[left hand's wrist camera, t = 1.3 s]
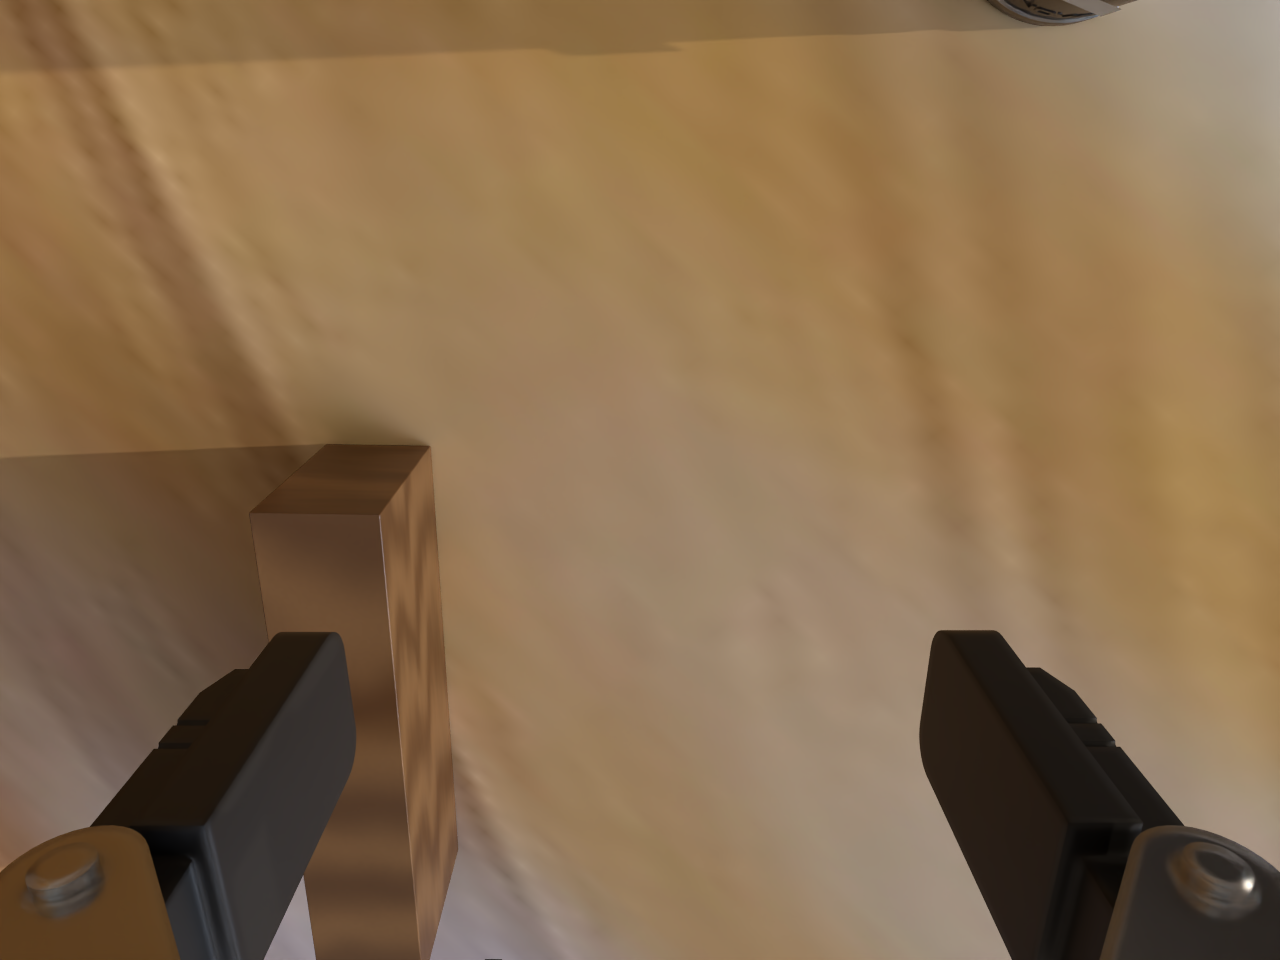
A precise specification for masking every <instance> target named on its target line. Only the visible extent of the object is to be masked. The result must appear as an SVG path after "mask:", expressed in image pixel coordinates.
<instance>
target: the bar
mask: <svg viewBox="0 0 1280 960" xmlns="http://www.w3.org/2000/svg"><path fill="white" fill-rule="evenodd" d="M249 515H250V522H251V528H252V535H253V542H254V548H255V555H256V562H257V568H258V575H259V582H260V588H261V595H262V602H263V608H264V615H265V622H266V628H267V635H268V642H270V641H271V639H272V638H273V637H274V636H275V635H276V634H277V633H279V632H337V633H338V634H339V635H340V636H341V638H342V641H343V644H344V649H345V656H346V662H347V669H348V676H349V683H350V690H351V697H352V704H353V711H354V717H355V724H356V751H355V757H354V763H353V767H352V770H351V773H350V776H349V778H348V780H347V783H346V785H345V787H344V789H343V791H342V793H341V795H340V797H339V800H338V802H337V804H336V806H335V808H334V810H333V812H332V814H331V817H330V819H329V821H328V823H327V825H326V827H325V829H324V832H323V834H322V836H321V838H320V840H319V842H318V844H317V846H316V849H315V851H314V853H313V855H312V857H311V859H310V861H309V864H308V866H307V868H306V870H305V872H304V874H303V875H304V882H305V888H306V895H307V902H308V908H309V915H310V922H311V928H312V935H313V942H314V948H315V955H316V960H430V956H431V952H432V948H433V944H434V940H435V937H436V933H437V929H438V925H439V921H440V917H441V913H442V910H443V906H444V902H445V898H446V894H447V890H448V886H449V883H450V879H451V875H452V871H453V867H454V863H455V859H456V856H457V852H458V841H457V826H456V811H455V797H454V782H453V767H452V753H451V738H450V724H449V709H448V694H447V680H446V665H445V650H444V636H443V621H442V607H441V592H440V577H439V563H438V548H437V534H436V519H435V504H434V490H433V475H432V460H431V447H430V446H393V445H334V444H326V445H325V446H324V447H323V448H322V449H321V450H319V451H318V452H317V453H316V454H315V455H314V456H313V457H312V458H310V459H309V460H308V461H307V462H306V463H305V464H304V465H303V466H301V467H300V468H299V469H298V470H297V471H296V472H295V473H294V474H292V475H291V476H290V477H289V478H288V479H287V480H286V481H285V482H283V483H282V484H281V485H280V486H279V487H278V488H277V489H275V490H274V491H273V492H272V493H271V494H270V495H269V496H268V497H266V498H265V499H264V500H263V501H262V502H261V503H260V504H259V505H257V506H256V507H255V508H254V509H253V510H252V511H251V512H250V513H249Z"/></svg>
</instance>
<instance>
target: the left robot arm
mask: <svg viewBox="0 0 1280 960" xmlns="http://www.w3.org/2000/svg"><path fill="white" fill-rule="evenodd" d="M987 1H988V2H989V3H990V4H991V5H993V6H994V7H995V8H997V9H998V10H999V11H1001V12H1002V13H1004V14H1006V15H1008V16H1010V17H1012V18H1014V19H1017V20H1019V21H1022V22H1025V23H1029V24H1034V25H1040V26H1062V25H1069V24H1074V23H1078V22H1082V21H1085V20H1088V19H1091V18H1094V17H1097V16H1104V15H1107V14H1110V13H1113V12H1116V11H1119V10H1122V9H1120V8H1117V7H1119V6H1121V5H1124V4H1127V3H1131V2H1134V1H1137V0H987ZM919 739H920V751H921V757H922V762H923V766H924V769H925V772H926V775H927V777H928V779H929V782H930V784H931V786H932V788H933V790H934V792H935V795H936V797H937V799H938V801H939V803H940V805H941V807H942V810H943V812H944V814H945V816H946V818H947V820H948V823H949V825H950V827H951V829H952V831H953V833H954V836H955V838H956V840H957V842H958V844H959V846H960V848H961V851H962V853H963V855H964V857H965V859H966V861H967V864H968V866H969V868H970V870H971V872H972V874H973V877H974V879H975V881H976V883H977V885H978V887H979V889H980V892H981V894H982V896H983V898H984V900H985V902H986V905H987V907H988V909H989V911H990V913H991V915H992V918H993V920H994V922H995V924H996V926H997V928H998V930H999V933H1000V935H1001V937H1002V939H1003V941H1004V943H1005V946H1006V948H1007V950H1008V952H1009V954H1010V956H1011V959H1012V960H1280V872H1279V871H1278V870H1277V869H1275V868H1274V867H1273V866H1272V865H1271V864H1269V863H1268V862H1267V861H1266V860H1264V859H1263V858H1262V857H1260V856H1259V855H1257V854H1255V853H1254V852H1252V851H1251V850H1249V849H1247V848H1246V847H1244V846H1242V845H1240V844H1238V843H1236V842H1234V841H1232V840H1230V839H1227V838H1225V837H1223V836H1220V835H1217V834H1214V833H1211V832H1208V831H1205V830H1201V829H1197V828H1193V827H1186V826H1184V825H1183V824H1182V822H1181V821H1180V820H1179V819H1178V817H1177V816H1176V815H1175V814H1174V812H1173V811H1172V810H1171V809H1170V808H1169V806H1168V805H1167V804H1166V803H1165V801H1164V800H1163V799H1162V798H1161V796H1160V795H1159V794H1158V793H1157V792H1156V790H1155V789H1154V788H1153V787H1152V785H1151V784H1150V783H1149V782H1148V781H1147V779H1146V778H1145V777H1144V776H1143V774H1142V773H1141V772H1140V771H1139V769H1138V768H1137V767H1136V766H1135V765H1134V763H1133V762H1132V761H1131V760H1130V758H1129V757H1128V756H1127V755H1126V753H1125V752H1124V751H1123V750H1122V749H1121V747H1116V745H1115V740H1114V739H1113V738H1112V736H1111V735H1110V734H1109V733H1108V731H1107V730H1106V729H1105V728H1104V726H1103V725H1102V724H1098V723H1097V718H1096V717H1095V715H1094V714H1093V713H1092V712H1091V710H1090V709H1089V708H1088V707H1087V706H1086V704H1085V703H1084V702H1083V701H1082V699H1081V698H1080V697H1079V696H1078V694H1077V693H1076V692H1075V691H1074V690H1072V689H1071V688H1070V687H1068V686H1067V685H1065V684H1064V683H1062V682H1061V681H1059V680H1058V679H1056V678H1055V677H1053V676H1052V675H1050V674H1049V673H1047V672H1046V671H1044V670H1043V669H1041V668H1026V667H1025V666H1024V664H1023V663H1022V662H1021V660H1020V659H1019V658H1018V656H1017V655H1016V654H1015V652H1014V651H1013V650H1012V648H1011V647H1010V646H1009V644H1008V643H1007V642H1006V640H1005V639H1004V638H1003V636H1002V635H1001V634H1000V633H999V632H997V631H994V630H941V631H938V632H937V633H936V634H935V636H934V638H933V641H932V645H931V651H930V658H929V665H928V672H927V679H926V686H925V693H924V700H923V707H922V714H921V721H920V732H919ZM355 751H356V724H355V717H354V711H353V704H352V697H351V690H350V683H349V676H348V669H347V662H346V656H345V649H344V644H343V641H342V638H341V636H340V635H339V634H338V633H337V632H279V633H277V634H276V635H275V636H274V637H273V638H272V639H271V641H270V642H269V643H268V645H267V646H266V647H265V649H264V650H263V651H262V652H261V654H260V655H259V656H258V658H257V659H256V660H255V662H254V663H253V664H252V666H251V667H250V668H249V669H235V670H233V671H232V672H230V673H229V674H227V675H226V676H224V677H223V678H221V679H220V680H218V681H217V682H215V683H214V684H212V685H211V686H209V687H208V688H206V689H205V690H203V691H202V692H200V693H199V695H198V696H197V697H196V698H195V699H194V701H193V702H192V703H191V704H190V705H189V707H188V708H187V709H186V710H185V712H184V713H183V714H182V715H181V716H180V718H179V719H178V723H177V726H172V727H171V729H170V730H169V731H168V732H167V733H166V735H165V736H164V737H163V738H162V740H161V741H160V742H159V747H158V749H153V751H152V752H151V753H150V754H149V755H148V757H147V758H146V759H145V760H144V762H143V763H142V764H141V765H140V766H139V768H138V769H137V770H136V771H135V772H134V774H133V775H132V776H131V777H130V779H129V780H128V781H127V782H126V783H125V785H124V786H123V787H122V788H121V790H120V791H119V792H118V793H117V794H116V796H115V797H114V798H113V799H112V800H111V802H110V803H109V804H108V805H107V807H106V808H105V809H104V810H103V811H102V813H101V814H100V815H99V816H98V818H97V819H96V820H95V821H94V822H93V824H92V825H91V826H90V827H87V828H83V829H79V830H75V831H72V832H69V833H66V834H63V835H60V836H57V837H55V838H53V839H50V840H48V841H46V842H44V843H42V844H40V845H38V846H36V847H34V848H33V849H31V850H29V851H28V852H26V853H25V854H23V855H21V856H20V857H18V858H17V859H16V860H14V861H13V862H12V863H11V864H9V865H8V866H7V867H6V868H5V869H3V870H2V871H1V872H0V960H263V959H264V957H265V955H266V953H267V951H268V949H269V947H270V945H271V942H272V940H273V938H274V936H275V934H276V932H277V930H278V927H279V925H280V923H281V921H282V919H283V917H284V915H285V913H286V910H287V908H288V906H289V904H290V902H291V900H292V898H293V895H294V893H295V891H296V889H297V887H298V885H299V883H300V881H301V878H302V876H303V874H304V872H305V870H306V868H307V866H308V864H309V861H310V859H311V857H312V855H313V853H314V851H315V849H316V846H317V844H318V842H319V840H320V838H321V836H322V834H323V832H324V829H325V827H326V825H327V823H328V821H329V819H330V817H331V814H332V812H333V810H334V808H335V806H336V804H337V802H338V800H339V797H340V795H341V793H342V791H343V789H344V787H345V785H346V783H347V780H348V778H349V776H350V773H351V770H352V767H353V763H354V757H355Z"/></svg>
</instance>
